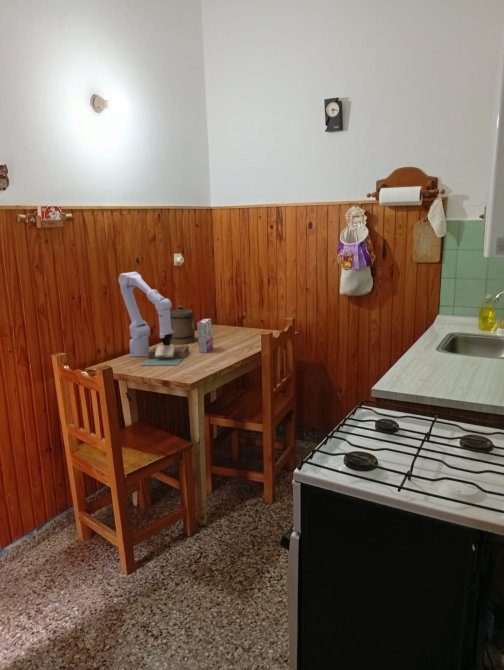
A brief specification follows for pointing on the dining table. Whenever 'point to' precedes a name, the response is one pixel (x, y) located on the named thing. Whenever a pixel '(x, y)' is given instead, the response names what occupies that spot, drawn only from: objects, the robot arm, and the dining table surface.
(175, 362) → the rubber mat
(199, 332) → the candy bar box
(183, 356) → the walnut board
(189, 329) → the wooden container
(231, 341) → the dining table surface
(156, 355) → the birch tile
